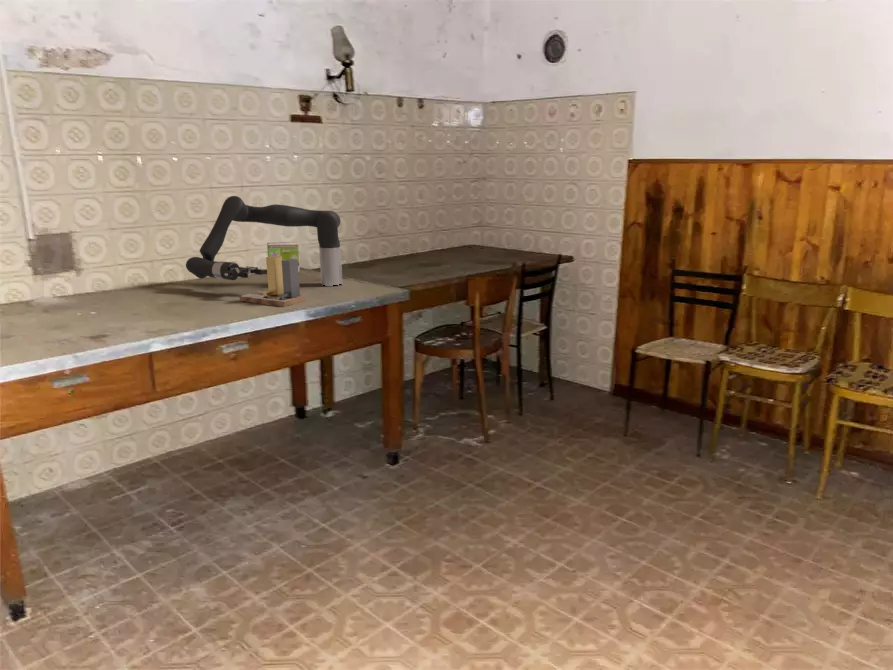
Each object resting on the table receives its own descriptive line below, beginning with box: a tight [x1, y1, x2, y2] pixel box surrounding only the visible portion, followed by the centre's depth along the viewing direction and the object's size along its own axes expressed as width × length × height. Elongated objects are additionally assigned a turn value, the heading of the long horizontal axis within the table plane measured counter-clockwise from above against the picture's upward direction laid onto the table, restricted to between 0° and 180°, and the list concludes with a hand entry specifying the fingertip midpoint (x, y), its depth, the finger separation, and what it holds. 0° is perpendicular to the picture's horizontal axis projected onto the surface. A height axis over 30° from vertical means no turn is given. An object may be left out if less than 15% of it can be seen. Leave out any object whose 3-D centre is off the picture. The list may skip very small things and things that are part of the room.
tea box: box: [266, 241, 300, 273], centre depth 341 cm, size 15×10×15 cm, turn 106°
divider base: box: [239, 259, 306, 308], centre depth 273 cm, size 23×13×17 cm, turn 62°
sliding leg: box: [263, 256, 284, 297], centre depth 273 cm, size 4×10×15 cm, turn 152°
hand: (254, 273), depth 280 cm, fingers open, 8 cm apart
